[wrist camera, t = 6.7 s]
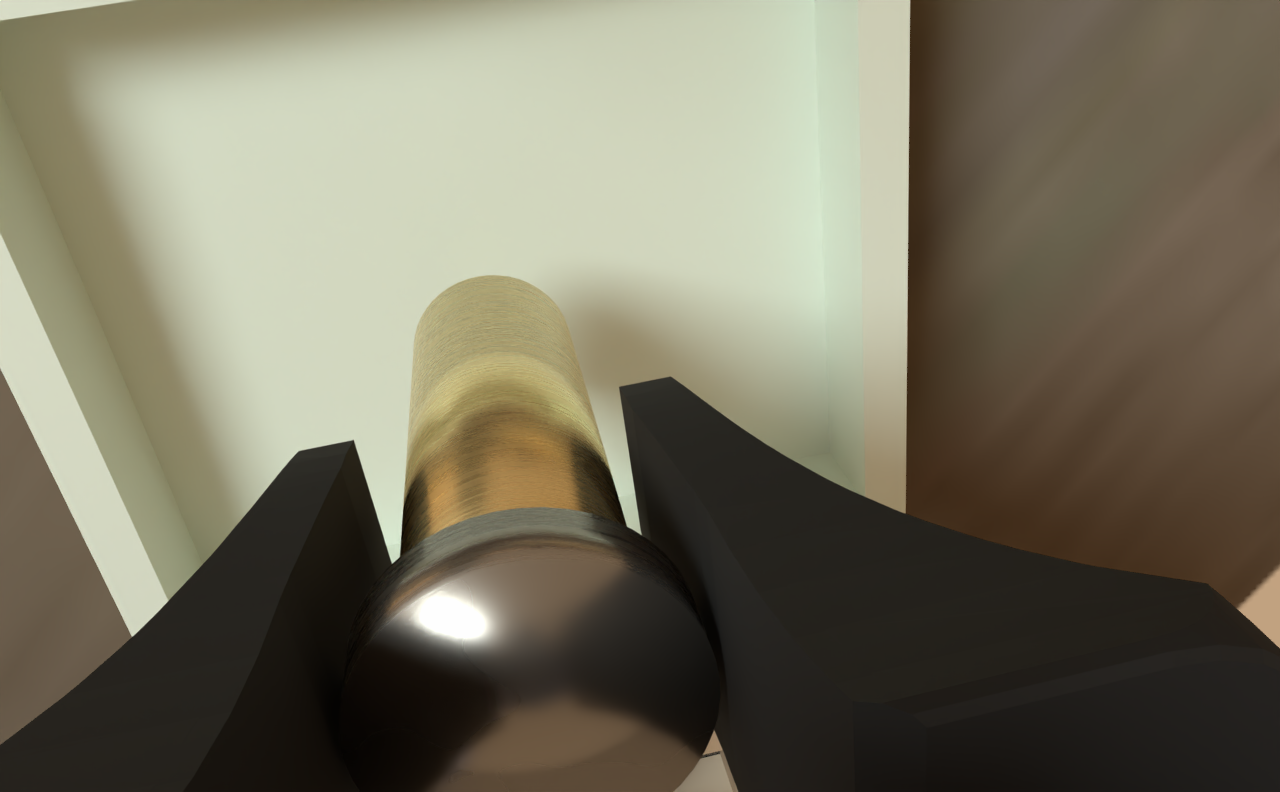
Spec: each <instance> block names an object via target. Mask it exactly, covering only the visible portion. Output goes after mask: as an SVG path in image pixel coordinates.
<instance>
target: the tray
mask: <svg viewBox="0 0 1280 792" xmlns="http://www.w3.org/2000/svg"><path fill="white" fill-rule="evenodd" d="M909 72H910V0H0V368H1V371H2V373H3V375H4V377H5V379H6V381H7V383H8V385H9V387H10V389H11V391H12V393H13V395H14V397H15V399H16V401H17V403H18V405H19V407H20V409H21V411H22V413H23V415H24V417H25V419H26V421H27V423H28V426H29V428H30V430H31V432H32V434H33V436H34V438H35V440H36V442H37V444H38V446H39V448H40V450H41V452H42V454H43V456H44V458H45V460H46V462H47V464H48V466H49V468H50V470H51V472H52V474H53V476H54V479H55V481H56V483H57V485H58V487H59V489H60V491H61V493H62V495H63V497H64V499H65V501H66V503H67V505H68V507H69V509H70V511H71V513H72V515H73V517H74V519H75V521H76V523H77V525H78V527H79V529H80V532H81V534H82V536H83V538H84V540H85V542H86V544H87V546H88V548H89V550H90V552H91V554H92V556H93V558H94V560H95V562H96V564H97V566H98V568H99V570H100V572H101V574H102V576H103V578H104V580H105V582H106V584H107V587H108V589H109V591H110V593H111V595H112V597H113V599H114V601H115V603H116V605H117V607H118V609H119V611H120V613H121V615H122V617H123V619H124V621H125V623H126V625H127V627H128V629H129V631H130V633H131V635H132V637H133V636H134V635H135V634H136V633H137V632H138V631H139V630H140V629H141V628H142V627H143V626H144V625H145V624H146V623H147V622H148V621H149V620H150V619H151V618H152V617H153V616H154V615H155V614H156V613H157V612H158V611H159V610H160V609H161V608H162V607H163V606H164V605H165V604H166V603H167V602H168V601H169V600H170V599H171V597H172V596H173V595H174V594H175V593H176V592H177V591H178V590H179V589H180V588H181V587H182V586H183V585H184V584H185V583H186V581H187V580H188V579H189V578H190V577H191V576H192V575H193V574H194V573H195V572H196V571H197V570H198V569H199V568H200V567H201V565H202V564H203V563H204V562H205V561H206V560H207V559H208V558H209V557H210V556H211V555H212V554H213V553H214V551H215V550H216V549H217V548H218V547H219V546H220V544H221V543H222V542H223V541H224V540H225V538H226V537H227V536H228V535H229V534H230V532H231V531H232V530H233V529H234V528H235V526H236V525H237V524H238V523H239V522H240V521H241V519H242V518H243V517H244V516H245V515H246V513H247V512H248V511H249V510H250V509H251V507H252V506H253V505H254V504H255V503H256V501H257V500H258V499H259V498H260V496H261V495H262V494H263V493H264V491H265V490H266V489H267V488H268V486H269V485H270V484H271V483H272V481H273V480H274V479H275V478H276V477H277V475H278V474H279V473H280V472H281V470H282V469H283V468H284V467H285V466H286V464H287V463H288V462H289V461H290V460H291V459H292V458H293V457H294V455H295V454H296V453H297V452H298V451H301V450H306V449H311V448H316V447H321V446H326V445H331V444H336V443H341V442H346V441H351V440H354V442H355V445H356V449H357V452H358V455H359V458H360V462H361V465H362V468H363V471H364V475H365V478H366V481H367V484H368V488H369V491H370V494H371V497H372V501H373V504H374V507H375V510H376V514H377V517H378V520H379V523H380V527H381V530H382V533H383V536H384V540H385V543H386V546H387V549H388V553H389V556H390V559H391V562H392V564H393V563H394V562H395V561H396V560H397V559H398V558H399V557H400V548H401V532H402V517H403V502H404V486H405V471H406V456H407V440H408V425H409V410H410V394H411V379H412V364H413V348H414V338H415V333H416V329H417V326H418V323H419V321H420V318H421V317H422V315H423V313H424V311H425V310H426V308H427V307H428V306H429V305H430V303H431V302H432V301H433V300H434V299H435V298H436V297H437V296H438V295H439V294H440V293H442V292H443V291H445V290H446V289H447V288H449V287H451V286H453V285H454V284H456V283H458V282H461V281H464V280H466V279H470V278H474V277H478V276H486V275H501V276H509V277H513V278H517V279H520V280H523V281H525V282H528V283H530V284H532V285H534V286H535V287H537V288H539V289H540V290H541V291H543V292H544V293H545V294H547V295H548V296H549V297H550V298H551V299H552V300H553V301H554V302H555V304H556V305H557V306H558V308H559V309H560V311H561V312H562V314H563V316H564V318H565V320H566V323H567V325H568V328H569V332H570V335H571V339H572V342H573V345H574V349H575V352H576V355H577V359H578V362H579V366H580V369H581V372H582V376H583V379H584V382H585V386H586V389H587V393H588V396H589V399H590V403H591V406H592V409H593V413H594V416H595V420H596V423H597V426H598V430H599V433H600V436H601V440H602V443H603V447H604V450H605V453H606V457H607V460H608V464H609V467H610V470H611V474H612V477H613V480H614V484H615V487H616V491H617V494H618V497H619V501H620V504H621V507H622V511H623V514H624V518H625V521H626V524H627V527H628V528H631V529H633V530H634V531H636V532H637V533H639V534H641V529H640V523H639V516H638V510H637V503H636V496H635V490H634V483H633V477H632V470H631V463H630V457H629V450H628V444H627V437H626V430H625V424H624V417H623V411H622V404H621V397H620V391H619V387H620V386H625V385H630V384H635V383H640V382H645V381H650V380H655V379H660V378H665V377H670V376H671V377H673V378H674V379H675V380H677V381H678V382H679V383H681V384H682V385H684V386H685V387H686V388H688V389H689V390H691V391H692V392H693V393H695V394H696V395H697V396H699V397H700V398H701V399H702V400H704V401H705V402H707V403H708V404H709V405H711V406H712V407H713V408H715V409H716V410H717V411H719V412H720V413H721V414H723V415H724V416H726V417H727V418H728V419H730V420H731V421H733V422H734V423H735V424H737V425H738V426H740V427H741V428H743V429H744V430H745V431H747V432H748V433H750V434H751V435H753V436H755V437H756V438H758V439H759V440H761V441H762V442H764V443H765V444H767V445H768V446H770V447H772V448H773V449H775V450H776V451H778V452H780V453H781V454H783V455H785V456H786V457H788V458H790V459H792V460H794V461H795V462H797V463H799V464H801V465H803V466H804V467H806V468H808V469H810V470H812V471H813V472H815V473H817V474H819V475H821V476H822V477H824V478H826V479H828V480H830V481H832V482H834V483H836V484H838V485H840V486H842V487H844V488H847V489H849V490H851V491H853V492H855V493H858V494H860V495H862V496H865V497H867V498H869V499H872V500H874V501H876V502H878V503H881V504H883V505H885V506H888V507H890V508H892V509H895V510H897V511H900V512H902V513H905V514H906V418H907V302H908V187H909ZM641 535H642V534H641Z"/></svg>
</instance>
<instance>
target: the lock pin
mask: <svg viewBox="0 0 1280 792" xmlns="http://www.w3.org/2000/svg"><path fill="white" fill-rule="evenodd" d="M720 697H721V695H720V677H719V672H718V667H717V663H716V659H715V656H714V653H713V650H712V648H711V645H710V642H709V639H708V637H707V634H706V631H705V628H704V625H703V623H702V620H701V617H700V614H699V612H698V609H697V606H696V603H695V601H694V598H693V596H692V593H691V591H690V588H689V586H688V584H687V582H686V581H685V579H684V577H683V576H682V574H681V572H680V571H679V569H678V568H677V567H676V566H675V564H674V563H673V562H672V561H671V560H670V559H669V557H668V556H667V555H666V554H665V553H664V552H663V551H662V550H660V549H659V548H658V547H657V546H656V545H655V544H653V543H652V542H651V541H650V540H648V539H647V538H645V537H644V536H642V535H641V534H639V533H637V532H636V531H634V530H633V529H631V528H628V527H627V524H626V521H625V518H624V514H623V511H622V507H621V504H620V501H619V497H618V494H617V491H616V487H615V484H614V480H613V477H612V474H611V470H610V467H609V464H608V460H607V457H606V453H605V450H604V447H603V443H602V440H601V436H600V433H599V430H598V426H597V423H596V420H595V416H594V413H593V409H592V406H591V403H590V399H589V396H588V393H587V389H586V386H585V382H584V379H583V376H582V372H581V369H580V366H579V362H578V359H577V355H576V352H575V349H574V345H573V342H572V339H571V335H570V332H569V328H568V325H567V323H566V320H565V318H564V316H563V314H562V312H561V311H560V309H559V308H558V306H557V305H556V304H555V302H554V301H553V300H552V299H551V298H550V297H549V296H548V295H547V294H545V293H544V292H543V291H541V290H540V289H539V288H537V287H535V286H534V285H532V284H530V283H528V282H525V281H523V280H520V279H517V278H513V277H509V276H501V275H486V276H478V277H474V278H470V279H466V280H464V281H461V282H458V283H456V284H454V285H453V286H451V287H449V288H447V289H446V290H445V291H443V292H442V293H440V294H439V295H438V296H437V297H436V298H435V299H434V300H433V301H432V302H431V303H430V305H429V306H428V307H427V308H426V310H425V311H424V313H423V315H422V317H421V318H420V321H419V323H418V326H417V329H416V333H415V338H414V348H413V364H412V379H411V394H410V410H409V425H408V440H407V456H406V471H405V486H404V502H403V517H402V532H401V548H400V557H399V558H398V559H397V560H396V561H395V562H394V563H393V564H391V565H390V566H389V567H388V568H387V569H386V570H385V572H384V573H383V574H382V575H381V576H380V577H379V579H378V580H377V581H376V582H375V583H374V584H373V586H372V587H371V589H370V591H369V592H368V594H367V595H366V597H365V598H364V600H363V602H362V603H361V605H360V608H359V610H358V612H357V614H356V617H355V619H354V621H353V624H352V628H351V632H350V636H349V640H348V646H347V654H346V662H345V670H344V677H343V685H342V693H341V701H340V710H339V721H338V730H339V742H340V748H341V751H342V755H343V759H344V762H345V765H346V767H347V769H348V771H349V773H350V776H351V778H352V780H353V782H354V783H355V785H356V786H357V787H358V789H359V790H360V792H674V791H675V790H676V789H677V788H678V787H679V786H680V785H681V784H682V783H683V781H684V780H685V779H686V778H687V777H688V775H689V774H690V773H691V772H692V770H693V769H694V768H695V766H696V765H697V763H698V762H699V760H700V758H701V757H702V755H703V753H704V752H705V750H706V748H707V746H708V743H709V741H710V739H711V737H712V734H713V732H714V728H715V725H716V721H717V718H718V713H719V705H720Z"/></svg>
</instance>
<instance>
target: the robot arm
mask: <svg viewBox="0 0 1280 792" xmlns="http://www.w3.org/2000/svg"><path fill="white" fill-rule="evenodd" d="M619 391H620V397H621V404H622V411H623V417H624V424H625V430H626V437H627V444H628V450H629V457H630V463H631V470H632V477H633V483H634V490H635V496H636V503H637V510H638V516H639V523H640V529H641V534H642V536H644V537H645V538H647V539H648V540H650V541H651V542H652V543H653V544H655V545H656V546H657V547H658V548H659V549H660V550H662V551H663V552H664V553H665V554H666V555H667V556H668V557H669V559H670V560H671V561H672V562H673V563H674V564H675V566H676V567H677V568H678V569H679V571H680V572H681V574H682V576H683V577H684V579H685V581H686V582H687V584H688V586H689V588H690V591H691V593H692V596H693V598H694V601H695V603H696V606H697V609H698V612H699V614H700V617H701V620H702V623H703V625H704V628H705V631H706V634H707V637H708V639H709V642H710V645H711V648H712V650H713V653H714V656H715V659H716V663H717V667H718V672H719V677H720V695H721V697H720V705H719V713H718V718H717V721H716V725H715V728H714V731H715V733H716V736H717V738H718V740H719V743H720V745H721V747H722V750H723V752H724V755H725V757H726V760H727V763H728V765H729V768H730V771H731V774H732V776H733V779H734V782H735V784H736V787H737V790H738V792H1280V648H1279V647H1278V646H1276V645H1275V644H1274V643H1273V642H1272V641H1271V640H1270V639H1269V638H1268V637H1267V636H1266V635H1265V634H1264V633H1263V632H1262V631H1260V629H1258V628H1257V627H1256V626H1255V625H1254V624H1253V623H1252V622H1251V621H1250V620H1249V619H1247V618H1246V617H1245V616H1244V615H1243V614H1242V613H1241V612H1240V611H1239V610H1237V609H1236V608H1235V607H1234V606H1233V605H1232V604H1231V603H1230V602H1228V601H1227V600H1226V599H1225V598H1224V597H1223V596H1221V595H1220V594H1219V593H1218V592H1216V591H1215V590H1214V589H1213V588H1211V587H1210V586H1209V585H1208V584H1206V583H1199V582H1193V581H1186V580H1180V579H1173V578H1167V577H1160V576H1154V575H1147V574H1141V573H1134V572H1128V571H1121V570H1115V569H1108V568H1102V567H1095V566H1090V565H1085V564H1080V563H1076V562H1071V561H1067V560H1063V559H1058V558H1054V557H1049V556H1045V555H1041V554H1036V553H1032V552H1028V551H1023V550H1019V549H1015V548H1012V547H1008V546H1004V545H1001V544H997V543H993V542H990V541H986V540H982V539H979V538H976V537H973V536H969V535H966V534H963V533H960V532H957V531H954V530H951V529H948V528H945V527H942V526H939V525H936V524H933V523H930V522H927V521H924V520H921V519H918V518H916V517H913V516H910V515H908V514H905V513H902V512H900V511H897V510H895V509H892V508H890V507H888V506H885V505H883V504H881V503H878V502H876V501H874V500H872V499H869V498H867V497H865V496H862V495H860V494H858V493H855V492H853V491H851V490H849V489H847V488H844V487H842V486H840V485H838V484H836V483H834V482H832V481H830V480H828V479H826V478H824V477H822V476H821V475H819V474H817V473H815V472H813V471H812V470H810V469H808V468H806V467H804V466H803V465H801V464H799V463H797V462H795V461H794V460H792V459H790V458H788V457H786V456H785V455H783V454H781V453H780V452H778V451H776V450H775V449H773V448H772V447H770V446H768V445H767V444H765V443H764V442H762V441H761V440H759V439H758V438H756V437H755V436H753V435H751V434H750V433H748V432H747V431H745V430H744V429H743V428H741V427H740V426H738V425H737V424H735V423H734V422H733V421H731V420H730V419H728V418H727V417H726V416H724V415H723V414H721V413H720V412H719V411H717V410H716V409H715V408H713V407H712V406H711V405H709V404H708V403H707V402H705V401H704V400H702V399H701V398H700V397H699V396H697V395H696V394H695V393H693V392H692V391H691V390H689V389H688V388H686V387H685V386H684V385H682V384H681V383H679V382H678V381H677V380H675V379H674V378H673V377H671V376H670V377H665V378H660V379H655V380H650V381H645V382H640V383H635V384H630V385H625V386H620V387H619ZM391 564H392V562H391V559H390V556H389V553H388V549H387V546H386V543H385V540H384V536H383V533H382V530H381V527H380V523H379V520H378V517H377V514H376V510H375V507H374V504H373V501H372V497H371V494H370V491H369V488H368V484H367V481H366V478H365V475H364V471H363V468H362V465H361V462H360V458H359V455H358V452H357V449H356V445H355V442H354V440H351V441H346V442H341V443H336V444H331V445H326V446H321V447H316V448H311V449H306V450H301V451H298V452H297V453H296V454H295V455H294V457H293V458H292V459H291V460H290V461H289V462H288V463H287V464H286V466H285V467H284V468H283V469H282V470H281V472H280V473H279V474H278V475H277V477H276V478H275V479H274V480H273V481H272V483H271V484H270V485H269V486H268V488H267V489H266V490H265V491H264V493H263V494H262V495H261V496H260V498H259V499H258V500H257V501H256V503H255V504H254V505H253V506H252V507H251V509H250V510H249V511H248V512H247V513H246V515H245V516H244V517H243V518H242V519H241V521H240V522H239V523H238V524H237V525H236V526H235V528H234V529H233V530H232V531H231V532H230V534H229V535H228V536H227V537H226V538H225V540H224V541H223V542H222V543H221V544H220V546H219V547H218V548H217V549H216V550H215V551H214V553H213V554H212V555H211V556H210V557H209V558H208V559H207V560H206V561H205V562H204V563H203V564H202V565H201V567H200V568H199V569H198V570H197V571H196V572H195V573H194V574H193V575H192V576H191V577H190V578H189V579H188V580H187V581H186V583H185V584H184V585H183V586H182V587H181V588H180V589H179V590H178V591H177V592H176V593H175V594H174V595H173V596H172V597H171V599H170V600H169V601H168V602H167V603H166V604H165V605H164V606H163V607H162V608H161V609H160V610H159V611H158V612H157V613H156V614H155V615H154V616H153V617H152V618H151V619H150V620H149V621H148V622H147V623H146V624H145V625H144V626H143V627H142V628H141V629H140V630H139V631H138V632H137V633H136V634H135V635H134V636H133V637H132V638H131V639H129V640H128V641H127V642H126V643H125V644H124V645H123V646H122V647H121V648H120V649H119V650H118V651H116V652H115V653H114V654H113V655H112V656H111V657H110V658H108V659H107V660H106V661H105V662H104V663H103V664H102V665H100V666H99V667H98V668H97V669H96V670H95V671H94V672H92V673H91V674H90V675H89V676H88V677H87V678H86V679H84V680H83V681H82V682H81V683H80V684H79V685H77V686H76V687H75V688H74V689H73V690H71V691H70V692H69V693H68V694H67V695H65V696H64V697H63V698H61V699H60V700H59V701H58V702H56V703H55V704H54V705H52V706H51V707H50V708H48V709H47V710H46V711H44V712H43V713H42V714H40V715H39V716H38V717H37V718H35V719H34V720H33V721H31V722H30V723H29V724H27V725H26V726H25V727H23V728H22V729H21V730H19V731H18V732H17V733H16V734H14V735H13V736H12V737H10V738H9V739H8V740H6V741H5V742H4V743H2V744H1V745H0V792H360V790H359V789H358V787H357V786H356V785H355V783H354V782H353V780H352V778H351V776H350V773H349V771H348V769H347V767H346V765H345V762H344V759H343V755H342V751H341V748H340V742H339V730H338V721H339V710H340V701H341V693H342V685H343V677H344V670H345V662H346V654H347V646H348V640H349V636H350V632H351V628H352V624H353V621H354V619H355V617H356V614H357V612H358V610H359V608H360V605H361V603H362V602H363V600H364V598H365V597H366V595H367V594H368V592H369V591H370V589H371V587H372V586H373V584H374V583H375V582H376V581H377V580H378V579H379V577H380V576H381V575H382V574H383V573H384V572H385V570H386V569H387V568H388V567H389V566H390V565H391Z"/></svg>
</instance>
